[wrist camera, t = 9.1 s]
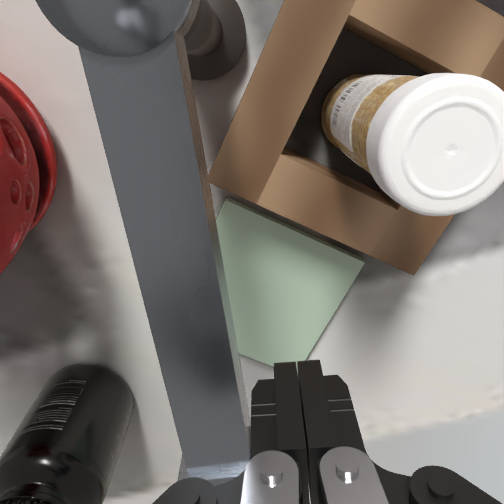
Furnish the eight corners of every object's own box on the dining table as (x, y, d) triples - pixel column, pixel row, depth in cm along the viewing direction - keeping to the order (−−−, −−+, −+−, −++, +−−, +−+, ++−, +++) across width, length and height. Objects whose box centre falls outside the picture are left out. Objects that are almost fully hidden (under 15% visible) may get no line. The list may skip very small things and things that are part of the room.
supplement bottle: (39, 416, 35) (-60, 575, 24) (57, 348, 33) (-43, 491, 22) (123, 440, 36) (66, 604, 25) (147, 376, 34) (95, 527, 23)
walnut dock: (123, 125, 27) (-26, 190, 12) (209, -123, 22) (131, -474, 8) (393, 249, 30) (525, 417, 15) (517, 54, 25) (868, 34, 11)
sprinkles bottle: (352, 167, 28) (435, 246, 15) (303, 112, 26) (349, 150, 14) (412, 113, 26) (554, 151, 14) (363, 53, 25) (472, 37, 13)
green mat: (170, 319, 32) (168, 325, 31) (226, 196, 28) (226, 200, 28) (294, 368, 33) (295, 375, 33) (362, 258, 30) (365, 262, 29)
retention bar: (43, -90, 10) (-6, -127, 8) (187, -115, 10) (171, -158, 8) (186, 467, 16) (177, 519, 14) (275, 458, 16) (277, 510, 14)
